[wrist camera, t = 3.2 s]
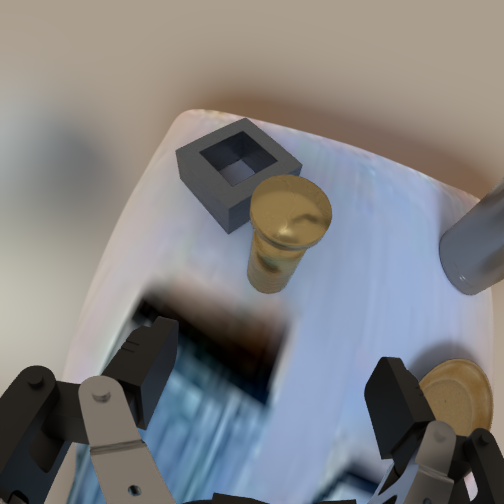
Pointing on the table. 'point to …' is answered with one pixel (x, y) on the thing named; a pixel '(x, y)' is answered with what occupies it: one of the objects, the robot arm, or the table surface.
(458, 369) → the plant saucer
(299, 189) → the brass flared peg
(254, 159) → the box
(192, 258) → the table surface
